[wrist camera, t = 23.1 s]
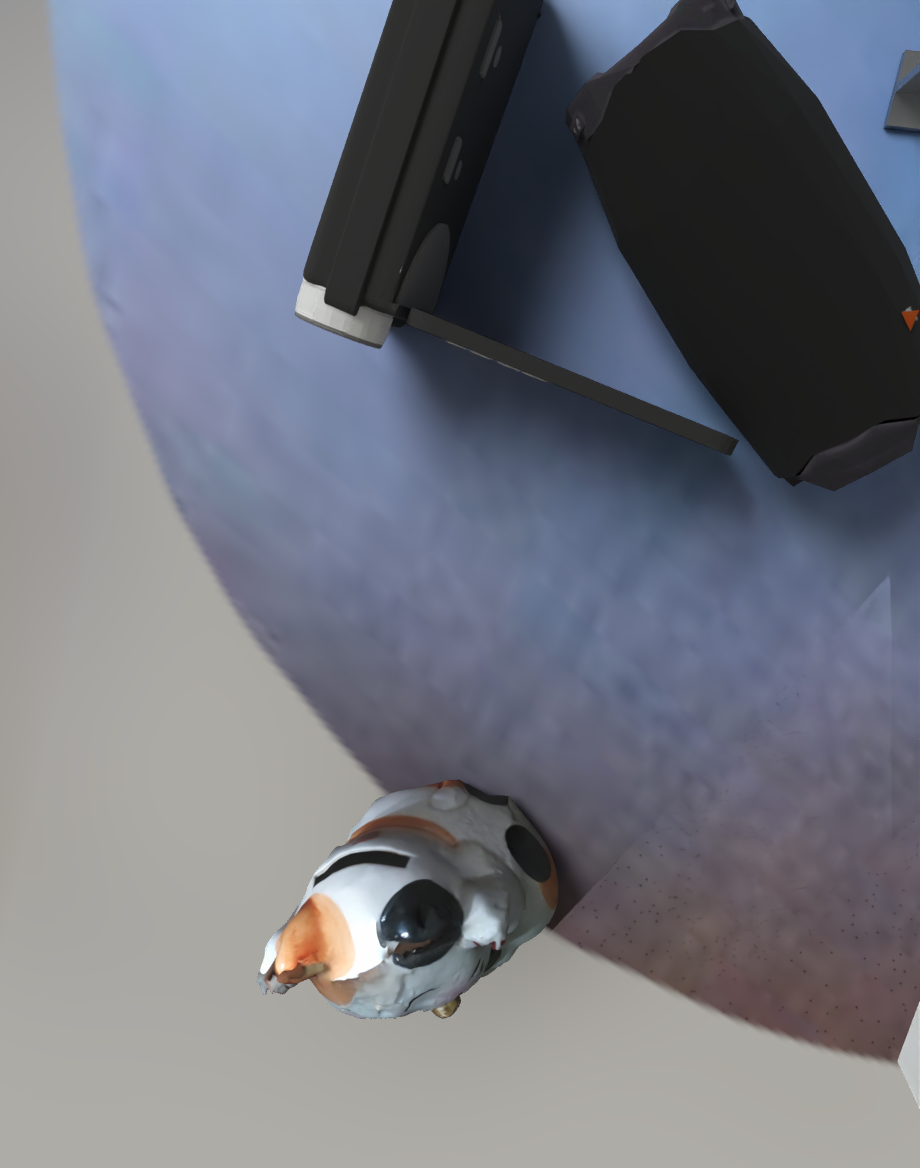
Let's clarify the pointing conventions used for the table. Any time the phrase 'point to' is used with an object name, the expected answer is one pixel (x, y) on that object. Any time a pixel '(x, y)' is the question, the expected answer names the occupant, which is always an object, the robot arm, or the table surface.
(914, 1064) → the robot arm
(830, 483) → the portable speaker
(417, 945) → the lucky cat figurine
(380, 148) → the camcorder
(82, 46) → the table surface
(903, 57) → the card holder
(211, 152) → the table surface
